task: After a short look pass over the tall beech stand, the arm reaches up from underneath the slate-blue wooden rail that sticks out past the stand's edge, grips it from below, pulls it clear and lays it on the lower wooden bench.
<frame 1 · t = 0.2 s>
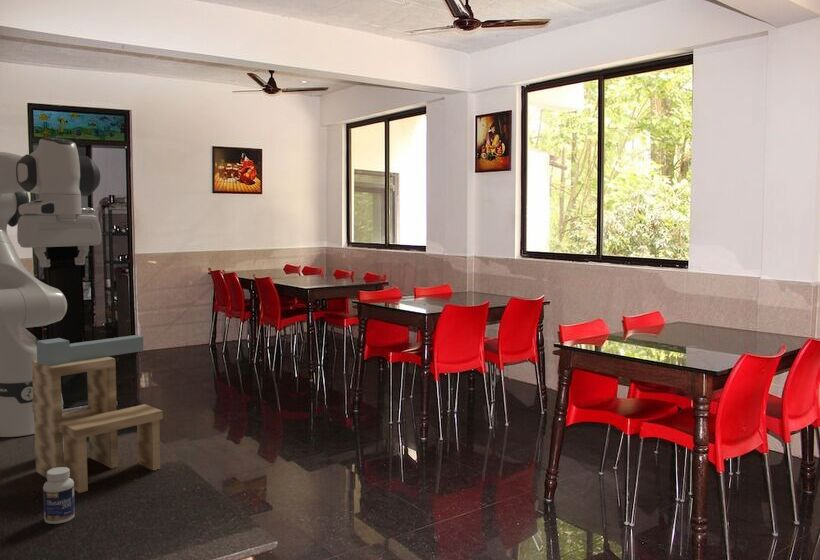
hand: (63, 265, 162), 47 cm above the table, tool pointing down, fingers open, 8 cm apart
tall stand: (77, 469, 160), on the table
bottle: (49, 459, 166), on the table
pill bottle: (59, 519, 134), on the table
bench: (114, 476, 156), on the table
rail: (87, 357, 159), point 26 cm above the table, touching tall stand
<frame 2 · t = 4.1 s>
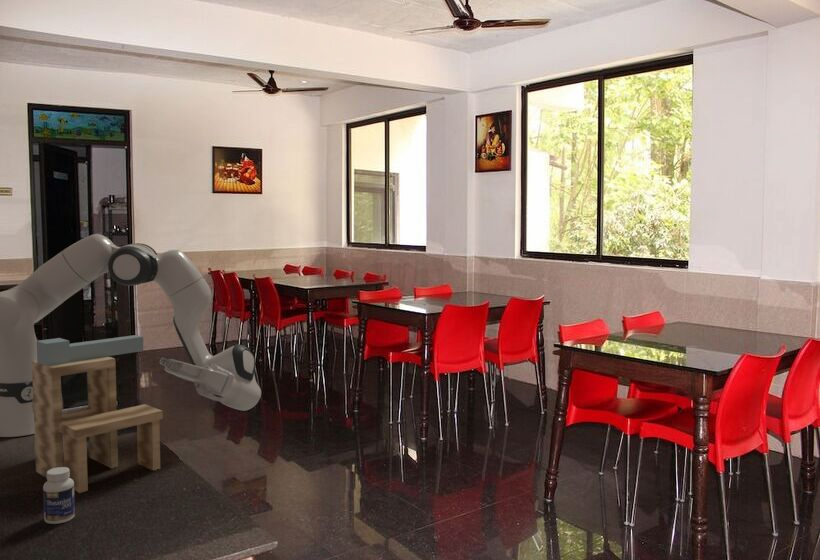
hand: (171, 363, 176), 21 cm above the table, tool pointing upward, fingers open, 8 cm apart
nothing on the table moved.
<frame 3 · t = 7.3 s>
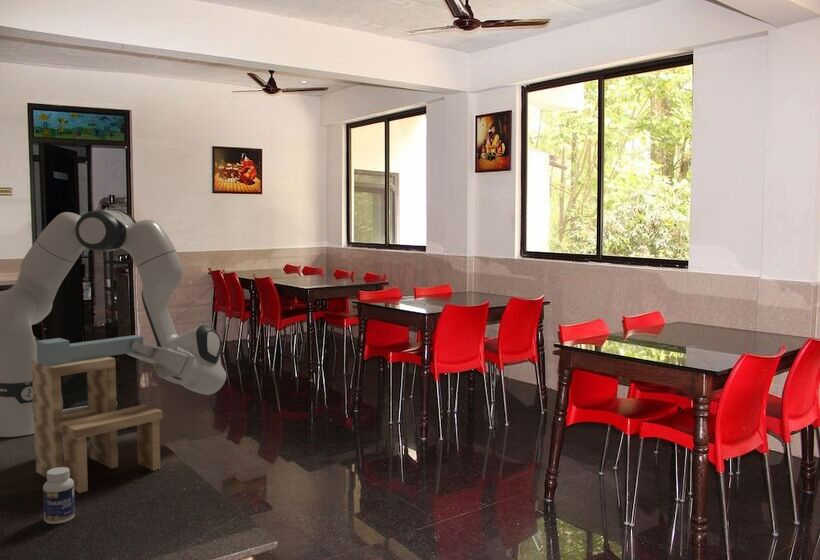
hand: (126, 342, 167), 28 cm above the table, tool pointing upward, fingers closed on rail, 3 cm apart
rail: (87, 357, 159), point 26 cm above the table, touching gripper, tall stand
everything else where it was.
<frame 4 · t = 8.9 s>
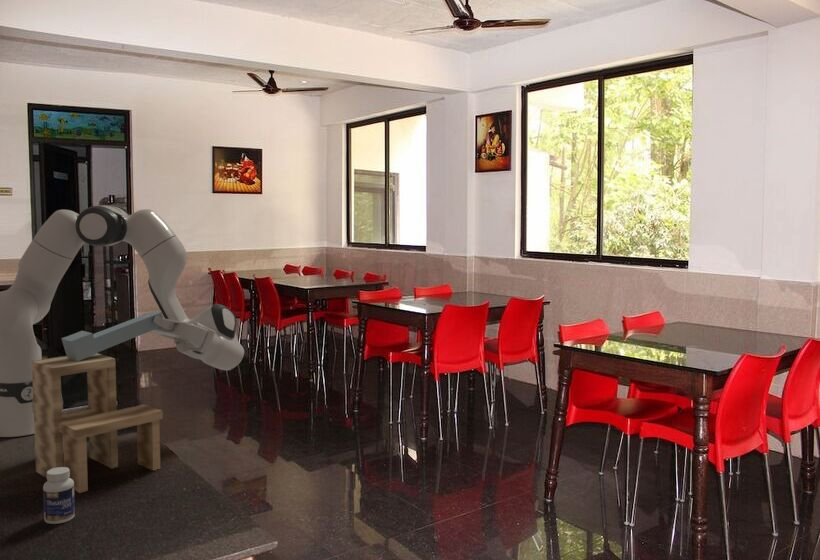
hand: (148, 317, 170), 34 cm above the table, tool pointing upward, fingers closed on rail, 3 cm apart
rail: (113, 343, 164), point 29 cm above the table, tilted 14°, touching gripper
everything else where it was.
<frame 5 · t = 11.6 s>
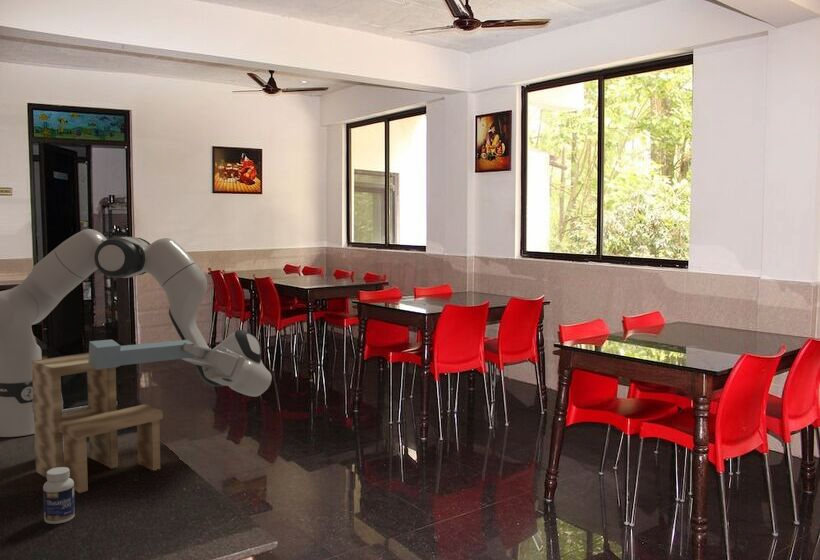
hand: (177, 344, 166), 28 cm above the table, tool pointing upward, fingers closed on rail, 4 cm apart
rail: (136, 361, 159), point 25 cm above the table, tilted 8°, touching gripper, tall stand
everything else where it was.
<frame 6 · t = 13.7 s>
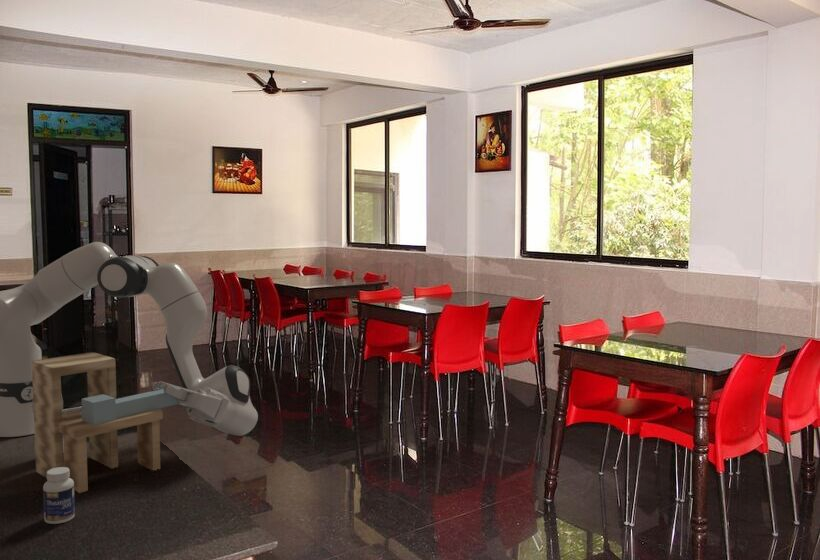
hand: (160, 387, 163), 19 cm above the table, tool pointing upward, fingers closed on rail, 3 cm apart
rail: (130, 413, 157), point 14 cm above the table, touching bench, gripper
everything else where it was.
when the fingers open (19 cm above the table, at t = 13.8 s): rail stays where it is, resting on bench.
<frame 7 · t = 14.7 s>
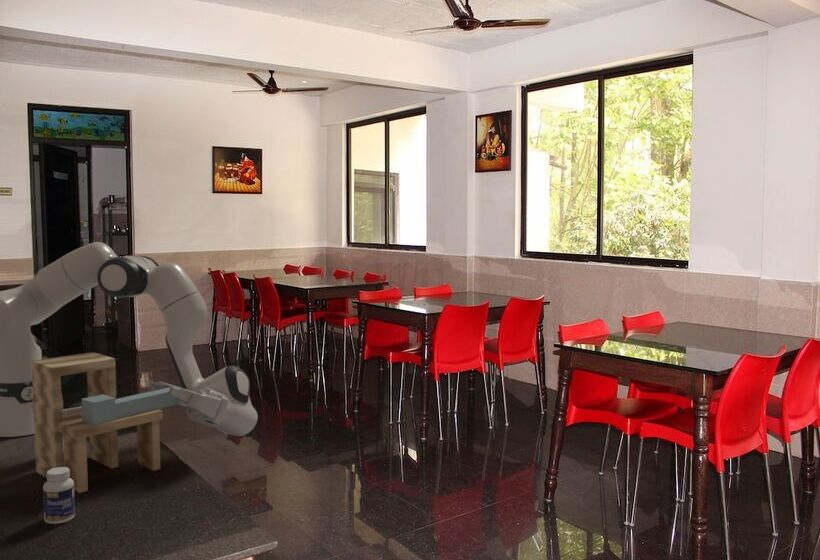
hand: (160, 387, 163), 18 cm above the table, tool pointing upward, fingers open, 8 cm apart
rail: (130, 413, 157), point 14 cm above the table, touching bench
everything else where it was.
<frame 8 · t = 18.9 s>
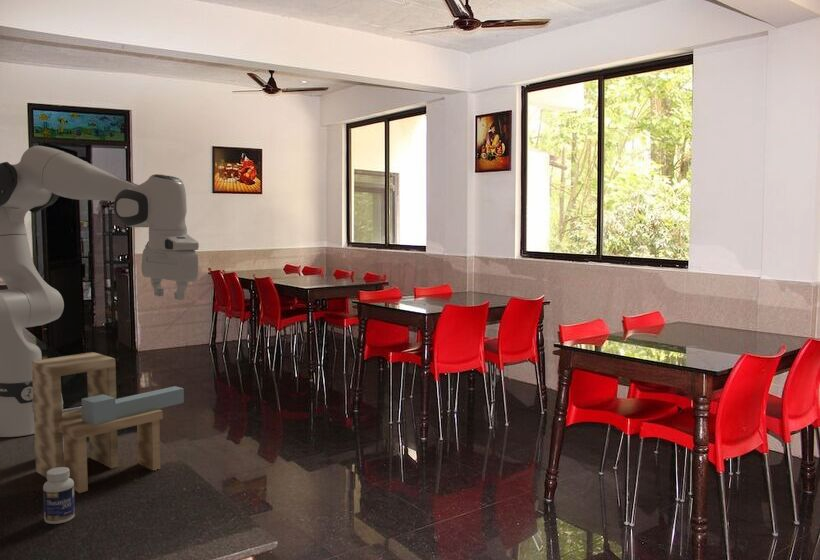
hand: (169, 297, 168), 39 cm above the table, tool pointing down, fingers open, 8 cm apart
nothing on the table moved.
at the end: rail inside the target area on the bench (3.0 cm from its centre), point 14.0 cm above the bench's base; rail touching bench; the gripper is holding nothing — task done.
